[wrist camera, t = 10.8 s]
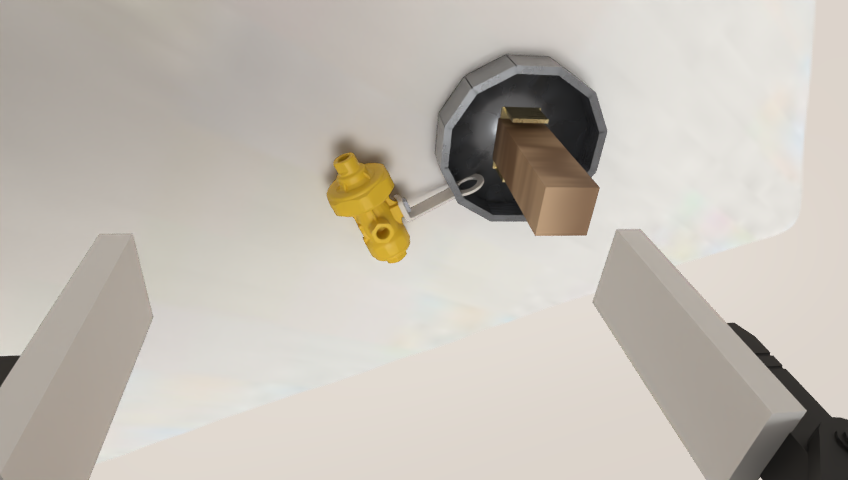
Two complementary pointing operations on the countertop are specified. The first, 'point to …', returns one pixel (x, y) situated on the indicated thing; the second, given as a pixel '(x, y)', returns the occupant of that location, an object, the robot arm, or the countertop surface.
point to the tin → (521, 103)
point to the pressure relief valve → (381, 205)
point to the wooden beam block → (544, 179)
